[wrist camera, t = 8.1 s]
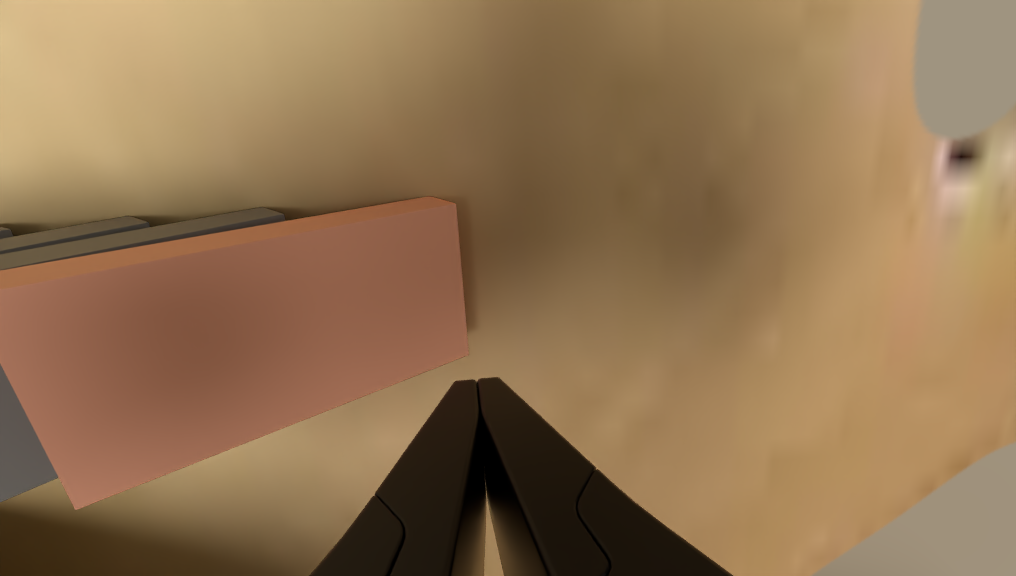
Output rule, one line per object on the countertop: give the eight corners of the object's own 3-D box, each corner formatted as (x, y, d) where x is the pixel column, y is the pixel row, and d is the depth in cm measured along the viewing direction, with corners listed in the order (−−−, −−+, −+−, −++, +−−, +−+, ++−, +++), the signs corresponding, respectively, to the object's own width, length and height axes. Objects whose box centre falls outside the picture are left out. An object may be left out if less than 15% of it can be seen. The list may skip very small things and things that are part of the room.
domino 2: (284, 213, 14) (-407, 349, 7) (317, 366, 15) (-201, 587, 9) (262, 206, 15) (-357, 319, 8) (296, 351, 16) (-181, 537, 10)
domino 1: (455, 203, 14) (-34, 296, 8) (468, 354, 16) (75, 510, 10) (429, 195, 15) (-14, 273, 10) (444, 337, 17) (80, 468, 11)
